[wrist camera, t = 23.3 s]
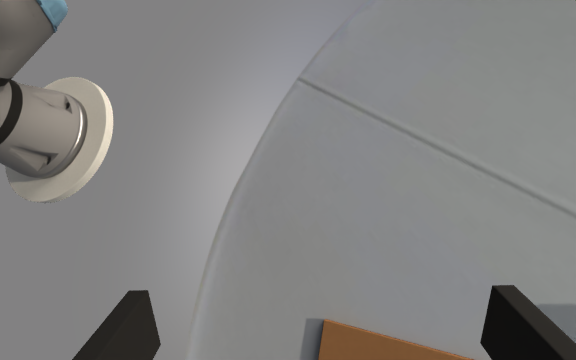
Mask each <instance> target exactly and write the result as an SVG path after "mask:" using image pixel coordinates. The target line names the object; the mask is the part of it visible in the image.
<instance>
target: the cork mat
mask: <svg viewBox="0 0 576 360" xmlns="http://www.w3.org/2000/svg"><path fill="white" fill-rule="evenodd" d="M318 360H473V359H469V358H466V357H462V356H458V355H455V354H451V353H447V352H444V351H440V350H436V349H433V348H429V347H425V346H422V345H418V344H414V343H411V342H407V341H403V340H400V339H396V338H392V337H389V336H385V335H381V334H378V333H374V332H370V331H367V330H363V329H359V328H356V327H352V326H349V325H345V324H341V323H338V322H334V321H330V320H327V319H325V320H324V324H323V331H322V337H321V344H320V351H319V357H318Z"/></svg>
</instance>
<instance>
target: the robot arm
mask: <svg viewBox="0 0 576 360" xmlns="http://www.w3.org/2000/svg"><path fill="white" fill-rule="evenodd" d="M66 14H67V5H66V3H65V1H64V0H0V163H2V164H3V165H5V166H7V167H9V168H11V169H12V170H14V171H16V172H18V173H20V174H23V175H25V176H29V177H33V178H38V179H47V178H51V177H53V176H56V175H57V174H59V173H61V172H62V171H63V170H65V169H66V168H67V167H68V166H69V165H70V164H71V163H72V162H73V161H74V159H75V158H76V156H77V155H78V153H79V152H80V150H81V148H82V146H83V143H84V140H85V137H86V133H87V126H88V119H87V113H86V110H85V108H84V106H83V105H82V103H81V102H80V101H79V100H77V99H76V98H74V97H72V96H70V95H68V94H65V93H62V92H59V91H55V90H50V89H44V88H39V87H34V86H29V85H24V84H20V83H17V82H15V81H13V80H11V78H12V77H13V76H14V75H15V74H16V73H17V72H18V71H19V70H20V69H21V68H22V67H23V66H24V64H25V63H26V62H27V61H28V60H29V59H30V58H31V57H32V56H33V55H34V54H35V53H36V51H37V50H38V49H39V48H40V47H41V46H42V45H43V44H44V43H45V42H46V41H47V40H48V39H49V38H50V37H51V35H52V34H53V33H55V32H56V31H57V27H58V26H59V24H60V23H61V21H62V20H63V19H64V17H65V16H66ZM480 343H481V345H482V346H483V347H484V349H485V350H486V352H487V353H488V355H489V356H490V358H491V359H492V360H576V343H575V342H573V341H572V340H571V339H570V338H569V337H568V336H567V335H566V334H565V333H564V332H563V331H562V330H561V329H560V328H559V327H558V326H556V325H555V324H554V323H553V322H552V321H551V320H550V319H549V318H548V317H547V316H546V315H545V314H544V313H543V312H542V311H541V310H539V309H538V308H537V307H536V306H535V305H534V304H533V303H532V302H531V301H530V300H529V299H528V298H527V297H526V296H525V295H523V294H522V293H521V292H520V291H519V290H518V289H517V288H516V287H515V286H514V285H499V286H492V290H491V294H490V299H489V304H488V309H487V314H486V318H485V323H484V328H483V333H482V338H481V342H480ZM160 345H161V344H160V340H159V335H158V331H157V327H156V322H155V318H154V314H153V310H152V306H151V301H150V297H149V293H148V291H147V290H143V291H128V292H127V294H126V295H125V296H124V297H123V299H122V300H121V301H120V302H119V303H118V305H117V306H116V307H115V308H114V310H113V311H112V312H111V313H110V314H109V316H108V317H107V318H106V319H105V321H104V322H103V323H102V324H101V325H100V327H99V328H98V329H97V330H96V331H95V333H94V334H93V335H92V336H91V338H90V339H89V340H88V341H87V342H86V344H85V345H84V346H83V347H82V348H81V350H80V351H79V352H78V353H77V354H76V356H75V357H74V358H73V359H72V360H153V358H154V356H155V354H156V352H157V350H158V349H159V347H160Z"/></svg>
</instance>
